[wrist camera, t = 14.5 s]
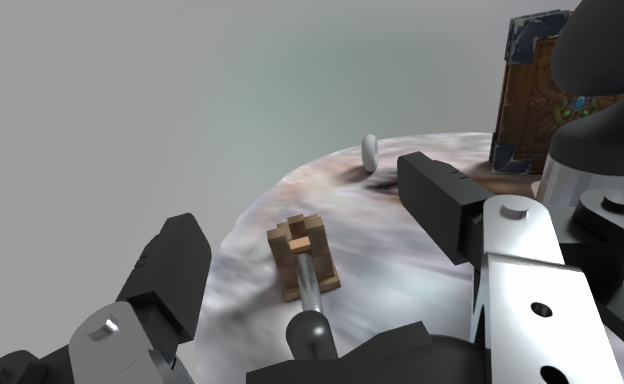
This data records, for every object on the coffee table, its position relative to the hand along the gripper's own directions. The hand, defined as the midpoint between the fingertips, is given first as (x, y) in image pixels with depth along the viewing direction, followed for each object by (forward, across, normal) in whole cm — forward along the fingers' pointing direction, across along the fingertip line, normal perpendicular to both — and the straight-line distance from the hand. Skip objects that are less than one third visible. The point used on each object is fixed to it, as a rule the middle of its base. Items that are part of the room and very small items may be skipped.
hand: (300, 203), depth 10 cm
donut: (+54, -21, +31) cm, 66 cm away
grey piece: (+10, +2, +24) cm, 26 cm away
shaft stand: (+29, +2, +30) cm, 41 cm away
